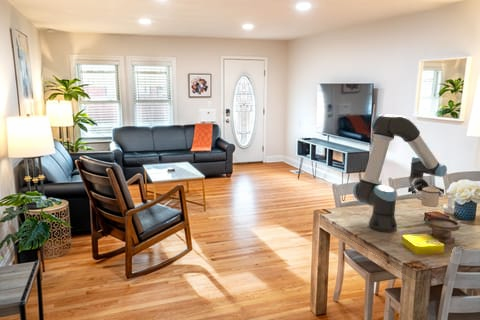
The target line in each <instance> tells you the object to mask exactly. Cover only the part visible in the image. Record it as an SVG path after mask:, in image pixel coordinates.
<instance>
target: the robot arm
mask: <svg viewBox="0 0 480 320" xmlns="http://www.w3.org/2000/svg"><path fill="white" fill-rule="evenodd" d="M371 130H372V131H373V134H372V135H373V137H374V140H373V143H372V148H371V151H370V153H369V159H368V160H367V161H368V162H367V165H366V168H365V172H364V174H363V175H364V176H363V177H361V178H360V180H359V181H358V182H356V183H355V185H354V186H353V189H352V190H353V191H352V192H353V193H352V194H353V196H354V198H355V200H357V201H359V202H360V203H363V204H366V205H369V206H370V207H372V214H371V217H370V219H369V221H368V227H369V229H372V230H373V231H376V232H381V233H392V232H396V231H397V229H398V224H397V220H396V216H395V213H396V205H397V204H396V202H397V192H396V189H394V187H391V186H390V185H389V186H388V185H383V184H381V181H380V177H381V174H382V170H383V166H384V164H385V161H386V156H387V153H388V150H389V146H390V142H391V141H393V140H394V138H395V137H398V138H401V139H402V140H403V142H404V143H408V146H410V149H411V150H412V151H413V152H414V154H415V155H414V156H412V158H411V162H410V172H409V173H410V175H409V176H408V182H409V184H410V186H409V187H408V190H407V192H408V193H411V194H412V195H415V197H416V196H418V197H419V193H418V191H422V189H423V188H425V187H428V186H429V185H430V184H428V182H427V181H426V180H425V179H424V174H426V175H430V176H434V177H438V178H442V177H444V176H446V174H447V171H448V169H447V168H448V167H447V165H445V164H443V163H439V161H438V159H437V158H436V156H435V155H434V153H433V152H432V151H431V148H429V146H428V145H427V143H426V142H425V141H424V139H423V138H422V136H421V135H420V134H421V131H420V130H419V129H418V127H417V125H415V124H414V122H413V121H411V120H410V119H409V118H407V117H405V116H403V115H397V114H389V113H385V114H384V113H383V114H378V115H376V116H375V117H374V119H372V122H371ZM432 185H433V187H435V188H436V189H439V190H440V193H439V198H443V195H445V189H444V188H441V187H438V186H436V185H434V184H432Z"/></svg>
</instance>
